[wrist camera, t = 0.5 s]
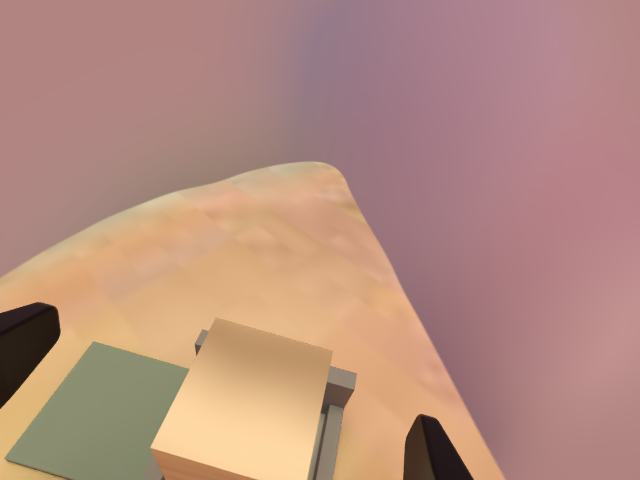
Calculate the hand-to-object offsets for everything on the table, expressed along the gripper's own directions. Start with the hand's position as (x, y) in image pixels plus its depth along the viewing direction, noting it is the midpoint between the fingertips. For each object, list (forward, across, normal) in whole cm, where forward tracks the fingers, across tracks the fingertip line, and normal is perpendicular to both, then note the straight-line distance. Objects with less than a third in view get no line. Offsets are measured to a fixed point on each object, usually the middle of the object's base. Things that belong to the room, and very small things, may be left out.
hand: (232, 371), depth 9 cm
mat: (+7, +8, +14) cm, 18 cm away
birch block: (+5, 0, +12) cm, 13 cm away
